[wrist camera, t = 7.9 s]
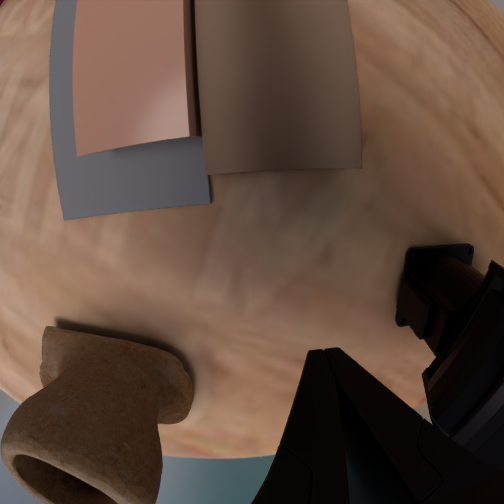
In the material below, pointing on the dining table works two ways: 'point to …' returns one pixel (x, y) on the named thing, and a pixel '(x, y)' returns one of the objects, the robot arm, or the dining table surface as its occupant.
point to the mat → (114, 152)
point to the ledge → (277, 85)
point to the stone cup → (96, 420)
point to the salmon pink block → (134, 74)
